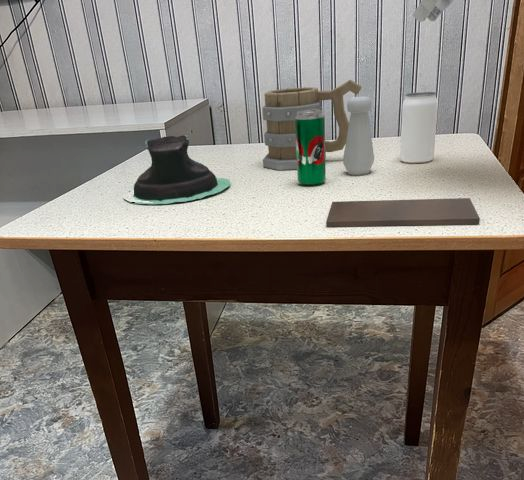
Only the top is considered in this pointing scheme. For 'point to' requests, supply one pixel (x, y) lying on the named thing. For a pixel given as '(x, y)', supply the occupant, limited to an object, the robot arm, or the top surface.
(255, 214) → the top surface
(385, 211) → the dark brown board
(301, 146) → the soda can
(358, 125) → the salt shaker
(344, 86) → the tankard
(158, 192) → the dark flared mound
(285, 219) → the top surface
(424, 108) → the can
